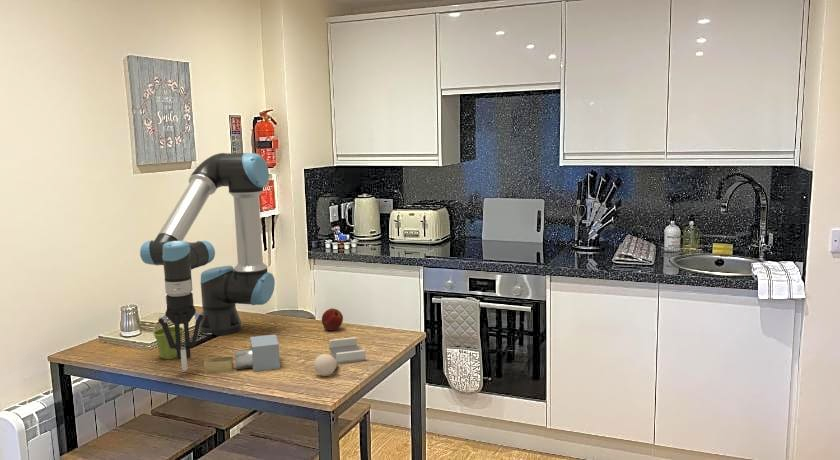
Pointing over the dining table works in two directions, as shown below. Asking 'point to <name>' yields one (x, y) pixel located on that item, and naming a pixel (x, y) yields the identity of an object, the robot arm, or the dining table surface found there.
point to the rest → (346, 350)
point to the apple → (332, 319)
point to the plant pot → (166, 342)
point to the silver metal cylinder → (243, 359)
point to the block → (265, 352)
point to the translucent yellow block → (218, 364)
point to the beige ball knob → (325, 364)
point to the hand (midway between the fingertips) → (184, 368)
